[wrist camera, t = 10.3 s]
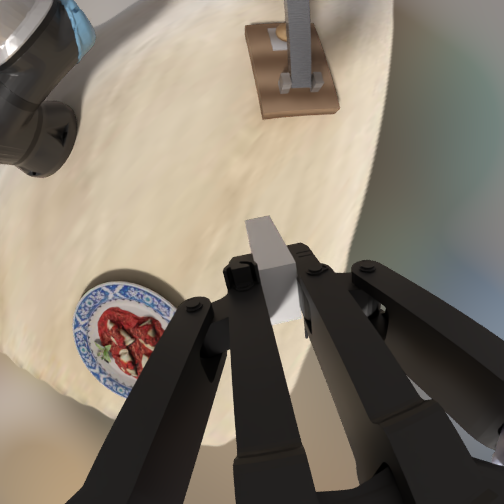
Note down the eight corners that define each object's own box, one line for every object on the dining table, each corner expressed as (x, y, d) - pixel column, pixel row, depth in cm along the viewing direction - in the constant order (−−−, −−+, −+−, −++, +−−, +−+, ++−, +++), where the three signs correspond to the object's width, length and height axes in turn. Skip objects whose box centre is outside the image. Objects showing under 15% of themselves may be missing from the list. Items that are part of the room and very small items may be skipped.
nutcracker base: (334, 114, 39) (349, 99, 32) (262, 119, 39) (266, 103, 32) (310, 31, 36) (318, 10, 29) (244, 34, 36) (245, 12, 29)
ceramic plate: (198, 281, 43) (195, 286, 40) (205, 403, 47) (204, 413, 44) (68, 274, 42) (60, 278, 39) (93, 386, 46) (87, 393, 43)
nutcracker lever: (315, 89, 33) (311, -28, 18) (291, 90, 33) (283, -29, 18) (307, 82, 35) (303, -26, 20) (285, 83, 35) (277, -27, 20)
